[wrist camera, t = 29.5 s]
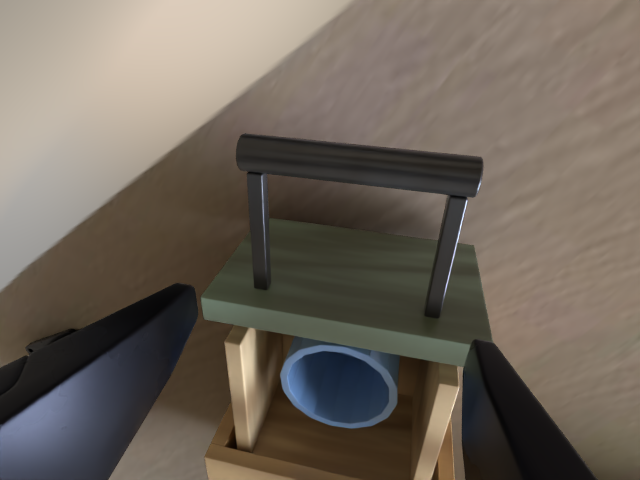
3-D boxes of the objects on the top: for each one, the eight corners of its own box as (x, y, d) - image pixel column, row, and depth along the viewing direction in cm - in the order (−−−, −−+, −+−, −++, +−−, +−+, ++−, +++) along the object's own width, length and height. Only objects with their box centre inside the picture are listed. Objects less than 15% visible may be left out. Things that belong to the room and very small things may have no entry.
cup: (288, 294, 24) (259, 358, 20) (378, 267, 21) (366, 334, 17) (331, 362, 26) (313, 434, 22) (417, 344, 24) (415, 420, 19)
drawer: (254, 95, 19) (175, 141, 13) (508, 116, 18) (553, 181, 11) (267, 362, 29) (224, 461, 23) (434, 395, 27) (437, 513, 21)
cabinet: (262, 334, 29) (203, 457, 21) (448, 368, 27) (457, 519, 19) (268, 442, 35) (225, 566, 28) (418, 477, 33) (415, 622, 25)
